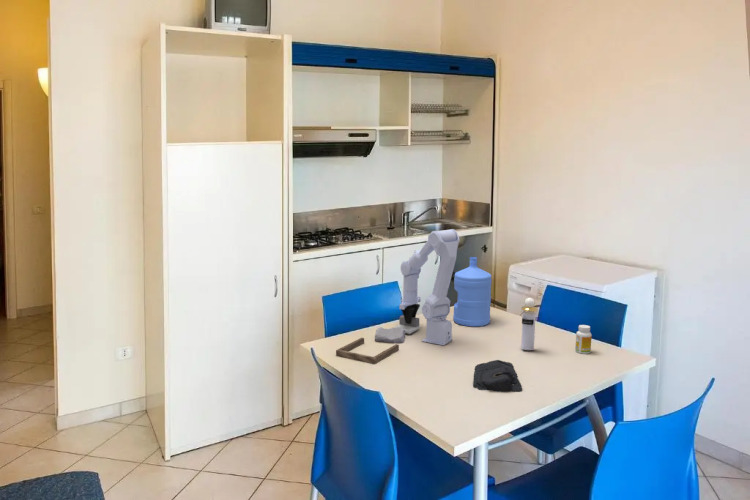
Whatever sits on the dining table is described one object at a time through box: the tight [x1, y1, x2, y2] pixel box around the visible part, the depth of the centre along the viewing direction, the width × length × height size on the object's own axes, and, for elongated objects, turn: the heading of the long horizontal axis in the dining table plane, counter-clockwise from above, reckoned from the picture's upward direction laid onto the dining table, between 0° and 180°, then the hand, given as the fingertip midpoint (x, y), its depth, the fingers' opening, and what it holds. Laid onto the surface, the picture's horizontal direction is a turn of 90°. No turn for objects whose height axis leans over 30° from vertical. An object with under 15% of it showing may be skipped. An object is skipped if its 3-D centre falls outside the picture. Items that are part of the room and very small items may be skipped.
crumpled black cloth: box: [472, 359, 523, 393], centre depth 208 cm, size 15×22×5 cm
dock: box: [335, 337, 400, 365], centre depth 232 cm, size 16×17×2 cm
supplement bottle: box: [575, 324, 593, 355], centre depth 233 cm, size 5×5×10 cm
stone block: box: [374, 326, 406, 344], centre depth 248 cm, size 12×5×10 cm
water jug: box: [452, 256, 493, 328], centre depth 269 cm, size 16×16×28 cm
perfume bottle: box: [520, 297, 538, 351], centre depth 234 cm, size 6×6×20 cm
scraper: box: [393, 314, 421, 335], centre depth 257 cm, size 8×8×4 cm
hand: (409, 322), depth 260 cm, fingers closed on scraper, 2 cm apart
